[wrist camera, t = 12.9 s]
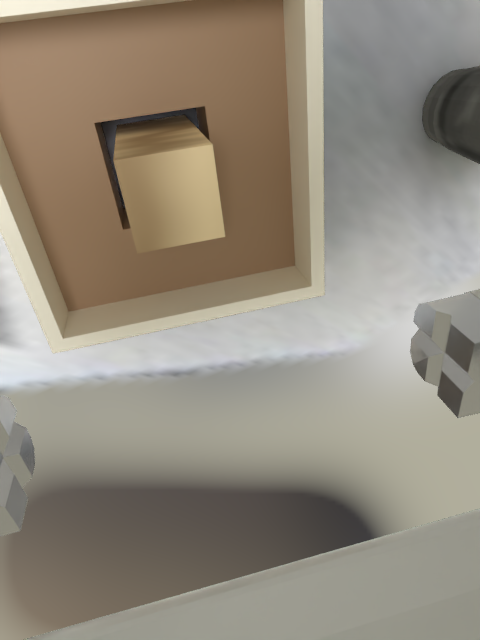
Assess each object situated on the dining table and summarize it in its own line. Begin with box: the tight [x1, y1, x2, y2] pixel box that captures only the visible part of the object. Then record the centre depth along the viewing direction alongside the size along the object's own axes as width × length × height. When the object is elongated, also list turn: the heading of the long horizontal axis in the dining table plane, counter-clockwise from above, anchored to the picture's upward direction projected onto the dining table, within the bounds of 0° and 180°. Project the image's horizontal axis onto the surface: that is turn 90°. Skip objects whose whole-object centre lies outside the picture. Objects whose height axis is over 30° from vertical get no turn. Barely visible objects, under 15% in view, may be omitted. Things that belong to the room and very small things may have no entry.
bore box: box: [0, 0, 325, 354], centre depth 24 cm, size 16×16×7 cm
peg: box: [113, 115, 225, 254], centre depth 23 cm, size 4×4×10 cm
